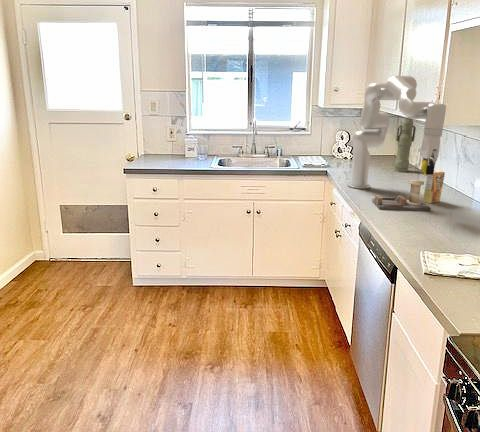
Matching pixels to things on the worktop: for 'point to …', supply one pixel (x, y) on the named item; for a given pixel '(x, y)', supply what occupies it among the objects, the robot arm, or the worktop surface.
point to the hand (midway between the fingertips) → (426, 172)
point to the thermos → (404, 144)
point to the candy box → (433, 187)
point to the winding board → (397, 204)
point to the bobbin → (414, 192)
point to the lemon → (424, 166)
